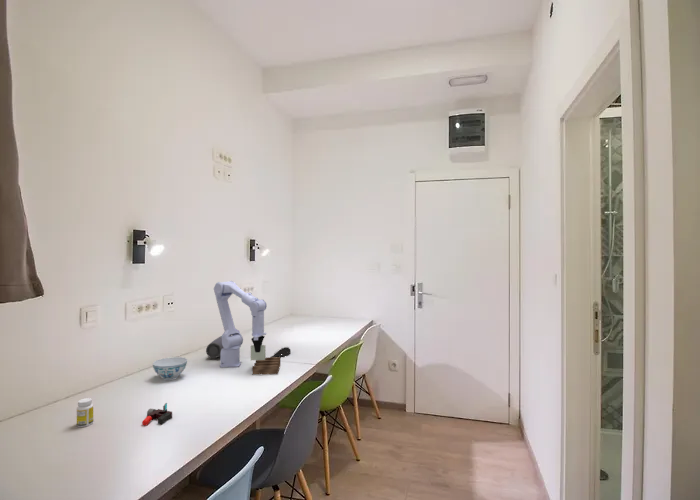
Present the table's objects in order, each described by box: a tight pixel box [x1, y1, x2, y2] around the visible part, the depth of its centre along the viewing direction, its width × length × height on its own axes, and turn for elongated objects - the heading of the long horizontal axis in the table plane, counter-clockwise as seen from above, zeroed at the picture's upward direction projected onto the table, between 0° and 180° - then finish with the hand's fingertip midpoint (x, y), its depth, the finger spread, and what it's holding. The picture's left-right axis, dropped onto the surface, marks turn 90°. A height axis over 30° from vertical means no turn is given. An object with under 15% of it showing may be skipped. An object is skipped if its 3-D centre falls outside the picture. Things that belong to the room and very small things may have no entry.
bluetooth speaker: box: [205, 335, 232, 359], centre depth 223 cm, size 23×9×10 cm, turn 179°
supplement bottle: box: [76, 397, 94, 428], centre depth 134 cm, size 5×5×8 cm
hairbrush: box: [270, 345, 292, 359], centre depth 217 cm, size 8×4×25 cm
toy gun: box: [141, 402, 173, 426], centre depth 137 cm, size 10×12×5 cm
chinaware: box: [151, 356, 188, 381], centre depth 182 cm, size 15×15×8 cm
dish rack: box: [252, 356, 281, 375], centre depth 195 cm, size 12×15×4 cm
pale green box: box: [250, 344, 266, 361], centre depth 193 cm, size 7×2×7 cm, turn 95°
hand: (258, 351), depth 193 cm, fingers closed on pale green box, 2 cm apart
